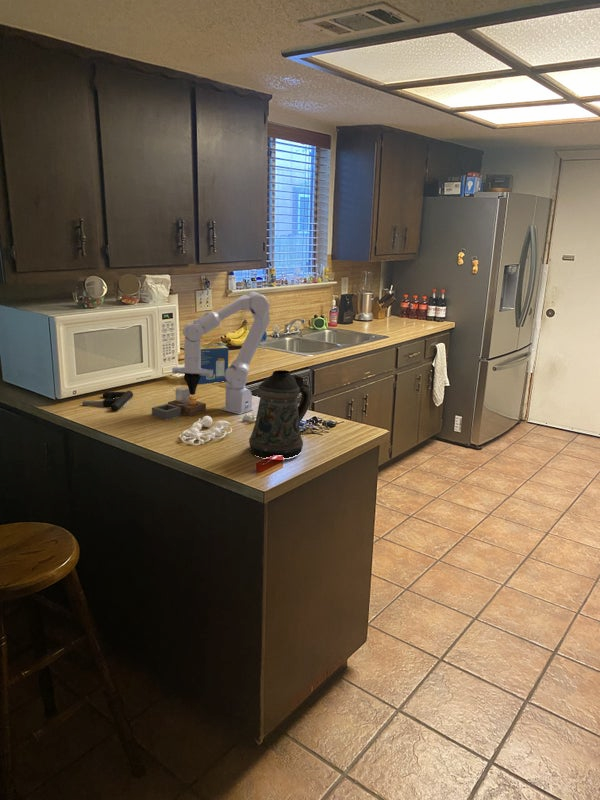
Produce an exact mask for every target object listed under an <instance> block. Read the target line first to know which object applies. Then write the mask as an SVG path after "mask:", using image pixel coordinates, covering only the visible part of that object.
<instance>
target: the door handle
mask: <svg viewBox="0 0 600 800" xmlns="http://www.w3.org/2000/svg"><path fill="white" fill-rule="evenodd" d="M103 397H104V399H103V400H84V401H82V406H83V405H93V406H92V407H103V408H110V407H111V408H110V410H111V411H112V412H118V411H120V409H122V408H124V407H125V406H126V405H128V404H129V403H130V399H132V398H133V397H134V392H133V391H131V390H126V391H104V393H102V398H103ZM113 398H114V399H113ZM121 407H122V408H121Z"/></svg>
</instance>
